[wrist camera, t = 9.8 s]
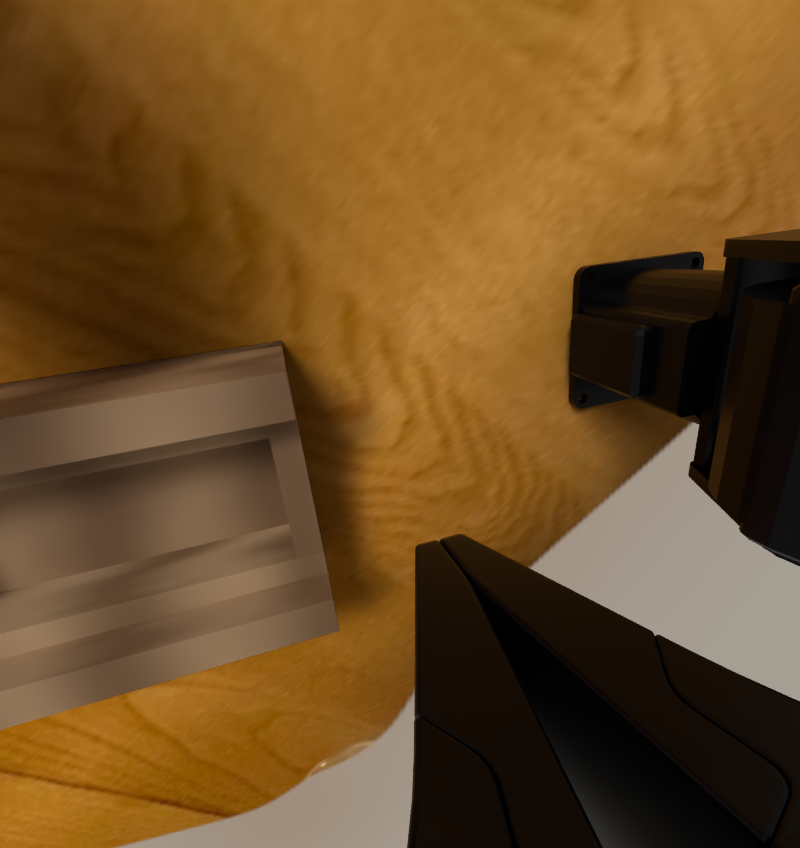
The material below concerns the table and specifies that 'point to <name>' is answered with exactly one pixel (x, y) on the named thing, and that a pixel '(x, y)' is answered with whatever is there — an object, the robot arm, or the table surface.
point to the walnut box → (152, 527)
